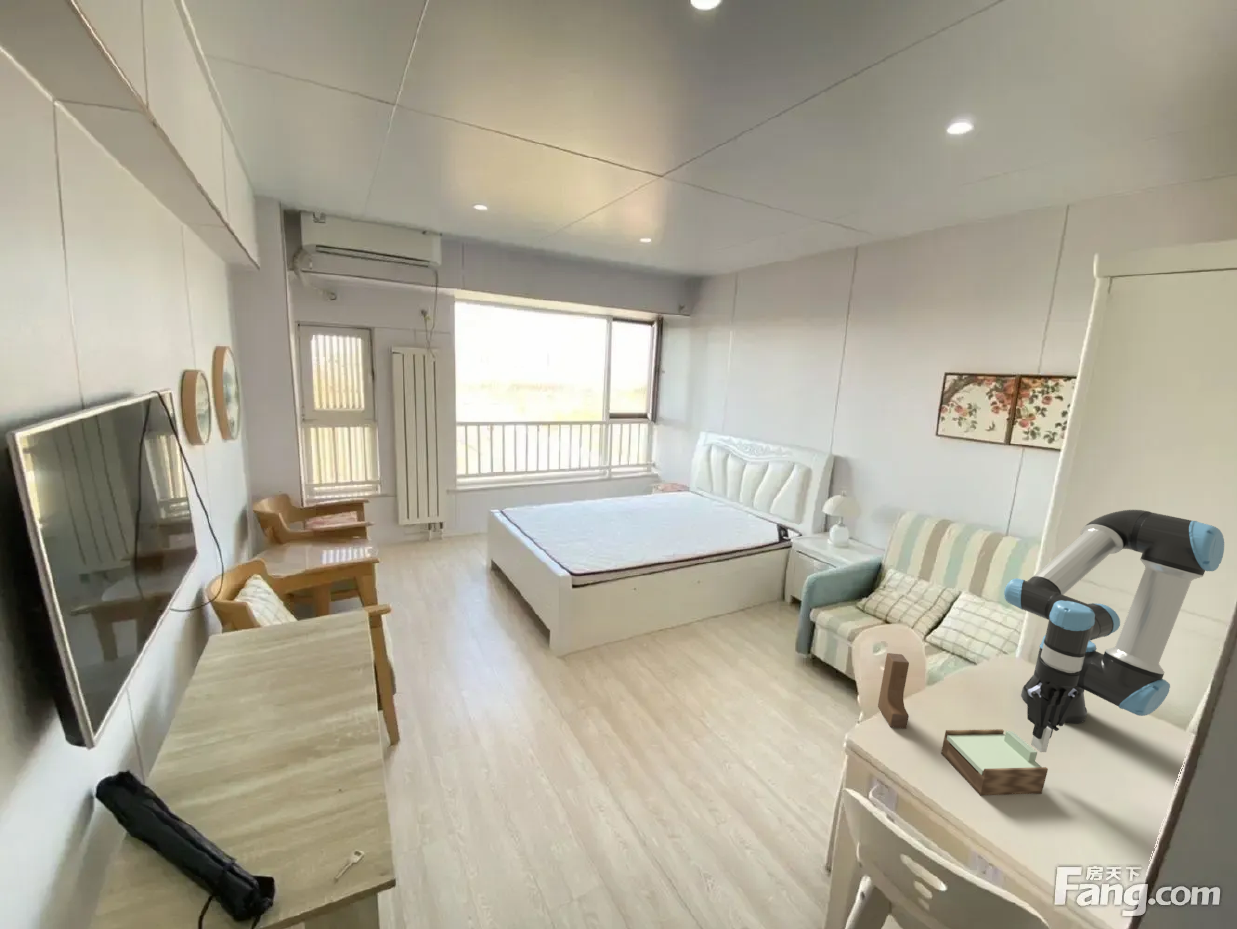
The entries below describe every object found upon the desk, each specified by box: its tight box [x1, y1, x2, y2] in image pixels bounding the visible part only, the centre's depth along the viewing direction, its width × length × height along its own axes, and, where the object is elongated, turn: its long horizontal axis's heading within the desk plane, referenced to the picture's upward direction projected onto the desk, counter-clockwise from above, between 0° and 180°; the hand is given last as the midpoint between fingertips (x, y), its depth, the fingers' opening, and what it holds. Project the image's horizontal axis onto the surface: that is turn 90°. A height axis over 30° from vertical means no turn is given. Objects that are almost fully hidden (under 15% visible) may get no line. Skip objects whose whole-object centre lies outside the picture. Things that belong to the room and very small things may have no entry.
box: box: [940, 728, 1049, 796], centre depth 124 cm, size 16×13×7 cm
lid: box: [947, 730, 1042, 775], centre depth 123 cm, size 16×11×4 cm
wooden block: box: [877, 652, 910, 730], centre depth 141 cm, size 9×4×18 cm, turn 174°
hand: (1038, 748), depth 124 cm, fingers closed
